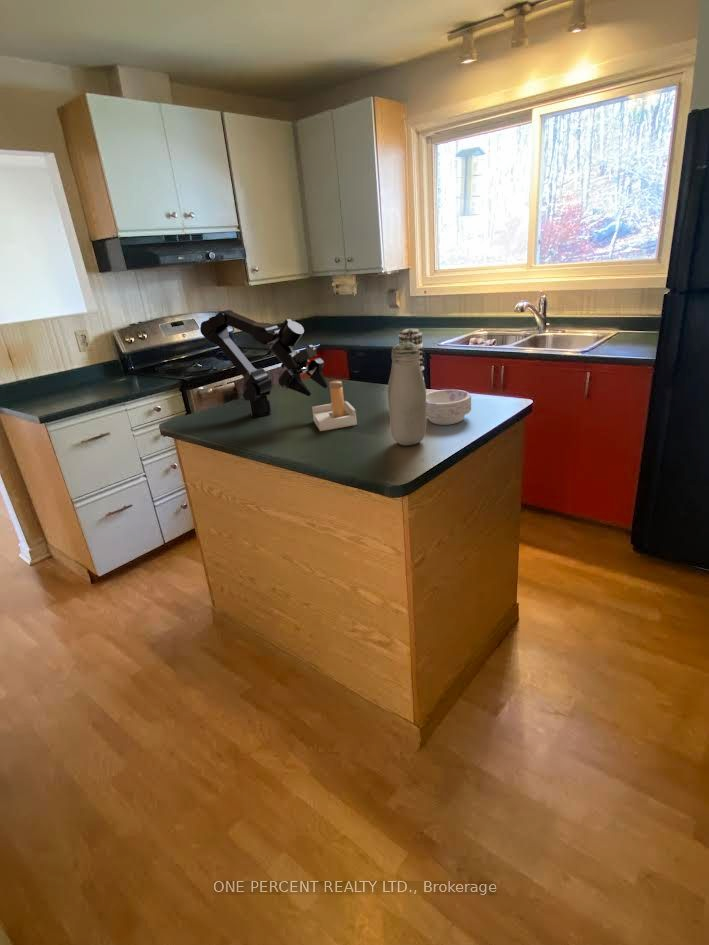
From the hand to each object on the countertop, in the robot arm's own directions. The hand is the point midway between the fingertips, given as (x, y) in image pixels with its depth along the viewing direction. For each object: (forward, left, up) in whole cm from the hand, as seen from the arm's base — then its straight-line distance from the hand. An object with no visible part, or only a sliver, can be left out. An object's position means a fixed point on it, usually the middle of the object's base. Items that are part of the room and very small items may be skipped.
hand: (318, 391), depth 167 cm
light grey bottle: (+18, -33, -10) cm, 39 cm away
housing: (+3, -4, -10) cm, 11 cm away
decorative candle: (+33, +3, -10) cm, 35 cm away
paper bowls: (+35, -20, -10) cm, 42 cm away
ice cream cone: (+5, -5, -10) cm, 12 cm away
